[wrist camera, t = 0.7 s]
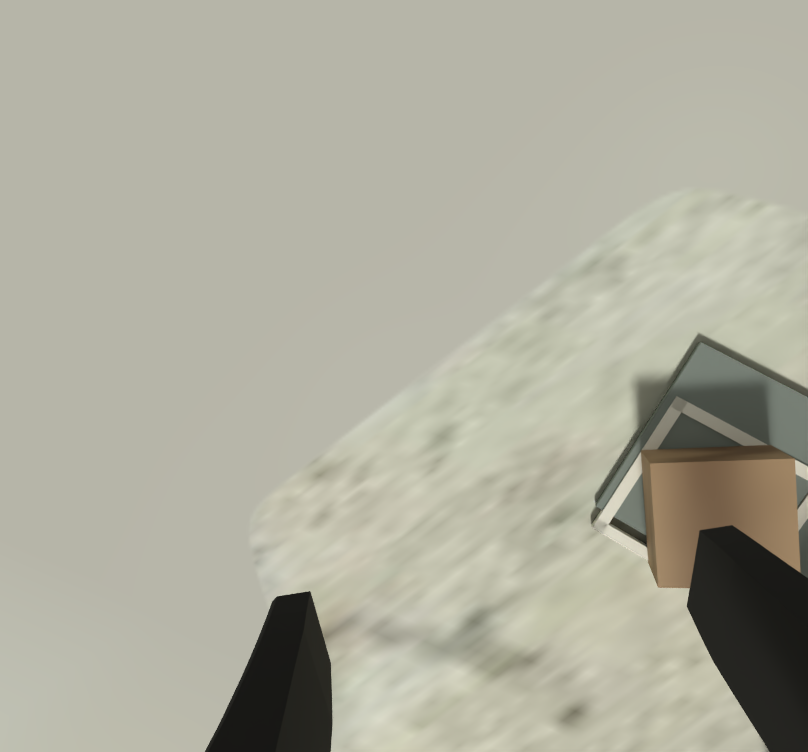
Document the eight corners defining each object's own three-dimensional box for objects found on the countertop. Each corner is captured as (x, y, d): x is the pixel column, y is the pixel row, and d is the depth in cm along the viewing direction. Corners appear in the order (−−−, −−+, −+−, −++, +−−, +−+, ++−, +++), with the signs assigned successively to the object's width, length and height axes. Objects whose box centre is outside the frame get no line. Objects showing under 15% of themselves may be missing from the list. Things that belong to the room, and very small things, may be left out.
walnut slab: (770, 444, 29) (795, 458, 26) (776, 563, 29) (801, 589, 26) (640, 450, 30) (649, 463, 28) (648, 562, 31) (658, 587, 28)
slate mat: (1003, 498, 27) (1011, 501, 27) (856, 681, 29) (861, 687, 29) (699, 341, 30) (701, 342, 29) (584, 520, 32) (585, 523, 31)
